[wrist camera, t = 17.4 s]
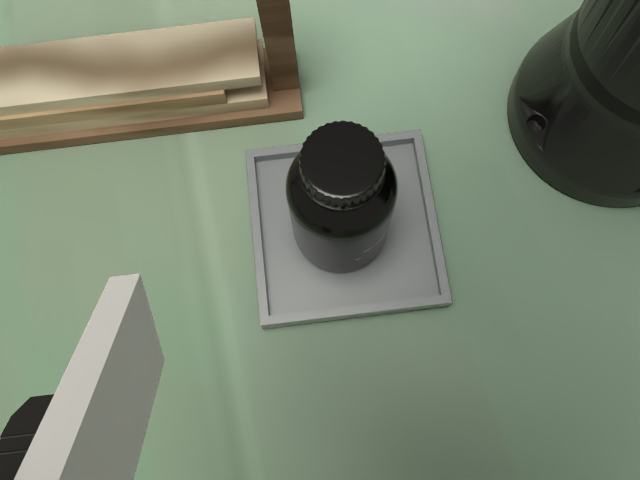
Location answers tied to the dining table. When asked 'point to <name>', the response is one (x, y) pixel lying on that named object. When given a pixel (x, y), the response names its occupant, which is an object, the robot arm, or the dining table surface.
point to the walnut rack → (281, 108)
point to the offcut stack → (131, 78)
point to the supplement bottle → (341, 196)
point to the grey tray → (354, 286)
